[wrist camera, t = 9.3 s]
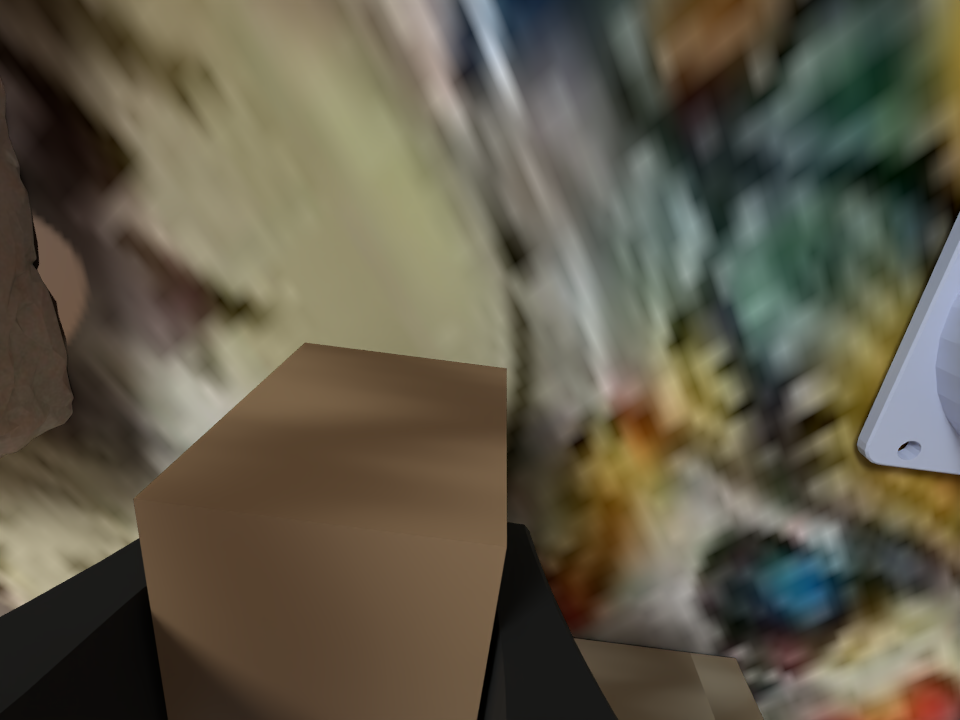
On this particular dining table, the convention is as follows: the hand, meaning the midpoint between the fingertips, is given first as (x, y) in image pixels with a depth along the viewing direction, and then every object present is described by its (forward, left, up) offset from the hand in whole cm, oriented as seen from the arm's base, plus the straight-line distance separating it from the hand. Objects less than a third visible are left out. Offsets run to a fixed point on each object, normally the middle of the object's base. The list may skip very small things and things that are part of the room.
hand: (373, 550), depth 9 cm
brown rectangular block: (0, 0, -2) cm, 2 cm away
